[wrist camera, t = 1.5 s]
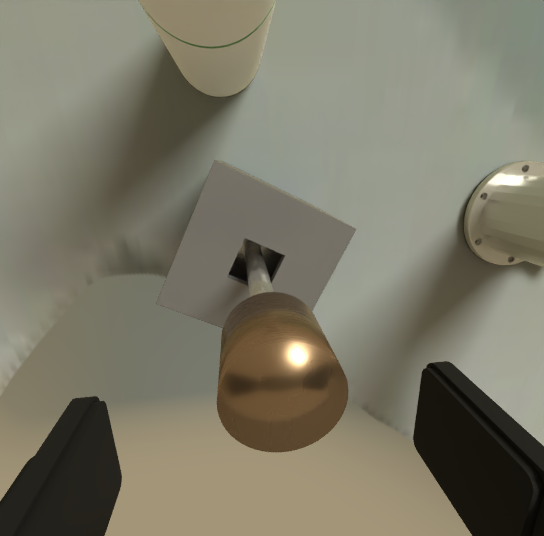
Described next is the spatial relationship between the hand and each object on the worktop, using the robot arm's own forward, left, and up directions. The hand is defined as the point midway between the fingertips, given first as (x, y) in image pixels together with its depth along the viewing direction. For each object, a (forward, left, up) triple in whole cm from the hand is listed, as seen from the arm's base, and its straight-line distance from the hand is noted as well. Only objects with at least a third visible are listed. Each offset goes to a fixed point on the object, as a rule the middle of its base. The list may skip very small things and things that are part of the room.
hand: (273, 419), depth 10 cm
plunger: (0, 0, -20) cm, 20 cm away
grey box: (0, 0, -30) cm, 30 cm away
